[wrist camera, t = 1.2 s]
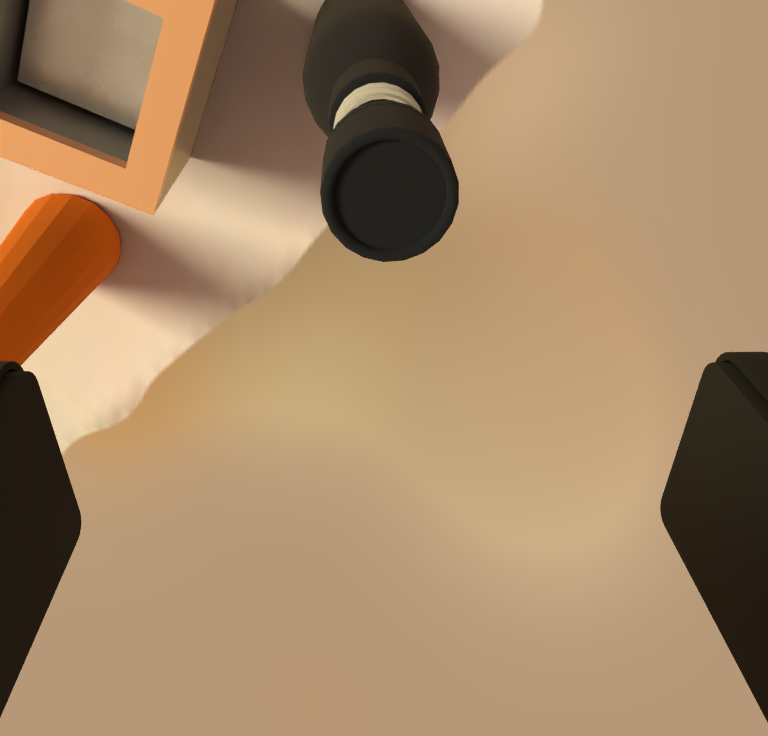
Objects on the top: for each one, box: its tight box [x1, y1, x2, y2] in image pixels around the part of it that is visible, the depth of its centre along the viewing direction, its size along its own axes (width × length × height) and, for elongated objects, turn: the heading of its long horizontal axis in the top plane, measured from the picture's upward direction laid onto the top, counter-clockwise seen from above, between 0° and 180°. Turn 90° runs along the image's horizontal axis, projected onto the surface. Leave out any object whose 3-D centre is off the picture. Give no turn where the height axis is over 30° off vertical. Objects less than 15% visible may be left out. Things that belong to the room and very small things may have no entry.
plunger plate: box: [17, 0, 164, 129], centre depth 38 cm, size 7×7×1 cm
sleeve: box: [0, 0, 238, 215], centre depth 38 cm, size 12×12×11 cm
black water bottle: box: [303, 0, 459, 262], centre depth 31 cm, size 6×6×30 cm
